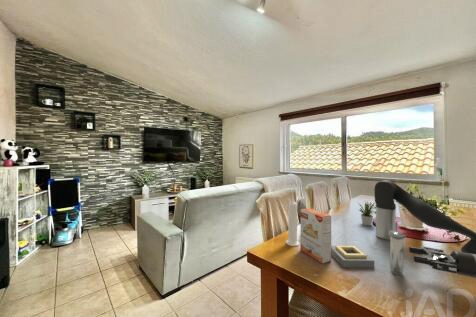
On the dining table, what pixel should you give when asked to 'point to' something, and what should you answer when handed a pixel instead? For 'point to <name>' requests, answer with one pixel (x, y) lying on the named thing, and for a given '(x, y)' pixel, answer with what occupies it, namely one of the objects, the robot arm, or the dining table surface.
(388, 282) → the dining table surface
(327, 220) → the cracker box
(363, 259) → the grey square socket base
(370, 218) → the house plant
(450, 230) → the robot arm
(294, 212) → the candle
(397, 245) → the shaft
